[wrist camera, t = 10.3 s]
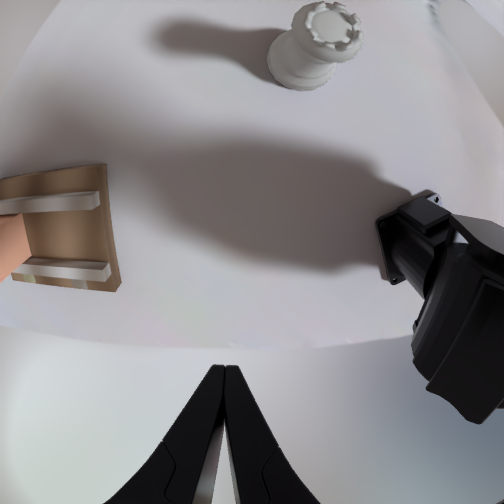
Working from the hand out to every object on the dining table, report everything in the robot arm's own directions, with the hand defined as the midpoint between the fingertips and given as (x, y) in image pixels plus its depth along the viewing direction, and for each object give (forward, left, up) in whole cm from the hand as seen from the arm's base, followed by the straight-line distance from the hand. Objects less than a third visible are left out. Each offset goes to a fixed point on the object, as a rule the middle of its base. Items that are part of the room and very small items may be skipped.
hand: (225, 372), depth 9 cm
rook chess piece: (+9, -9, -13) cm, 18 cm away
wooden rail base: (+7, +14, -13) cm, 21 cm away
